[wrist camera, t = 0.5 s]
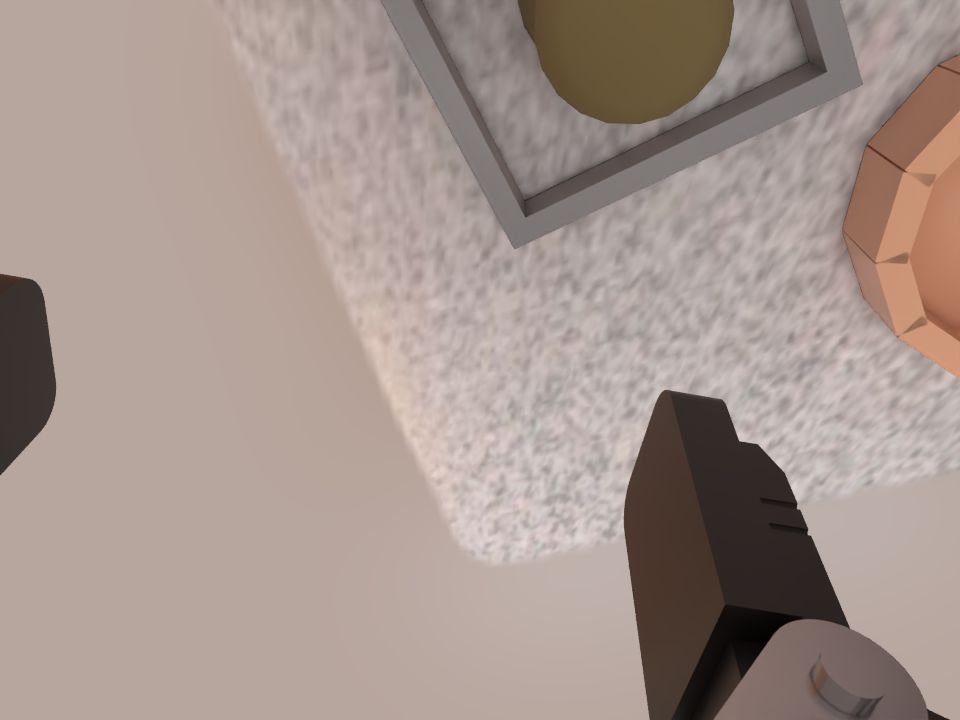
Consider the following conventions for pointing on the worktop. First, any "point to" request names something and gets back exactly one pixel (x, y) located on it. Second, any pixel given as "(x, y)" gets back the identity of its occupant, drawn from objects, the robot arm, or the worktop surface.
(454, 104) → the rectangular frame
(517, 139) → the worktop surface
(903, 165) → the bowl
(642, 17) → the olive pestle
